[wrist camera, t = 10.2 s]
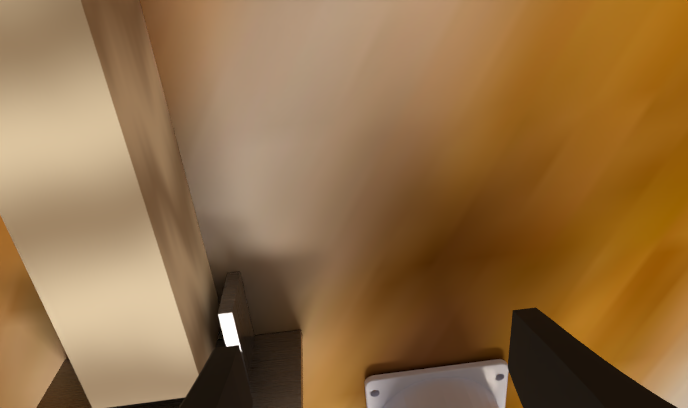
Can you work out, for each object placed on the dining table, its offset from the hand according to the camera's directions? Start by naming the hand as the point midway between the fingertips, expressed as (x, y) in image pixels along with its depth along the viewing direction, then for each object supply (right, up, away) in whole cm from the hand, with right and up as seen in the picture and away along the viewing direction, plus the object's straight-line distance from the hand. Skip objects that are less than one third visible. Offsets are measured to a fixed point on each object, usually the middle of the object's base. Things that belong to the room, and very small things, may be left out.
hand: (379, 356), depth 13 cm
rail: (-10, +5, +8) cm, 14 cm away
